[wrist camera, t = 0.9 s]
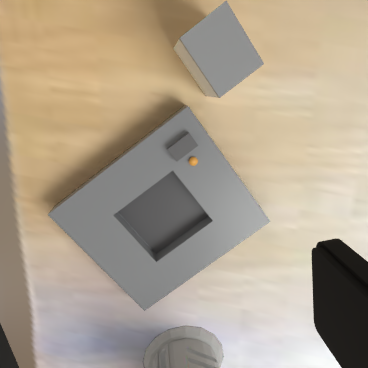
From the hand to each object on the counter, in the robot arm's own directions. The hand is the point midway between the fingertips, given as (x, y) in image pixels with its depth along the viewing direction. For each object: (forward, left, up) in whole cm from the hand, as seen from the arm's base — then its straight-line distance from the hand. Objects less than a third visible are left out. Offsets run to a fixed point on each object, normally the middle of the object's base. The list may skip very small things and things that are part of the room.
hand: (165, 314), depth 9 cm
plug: (-9, -4, -22) cm, 24 cm away
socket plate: (+3, +5, -22) cm, 23 cm away
